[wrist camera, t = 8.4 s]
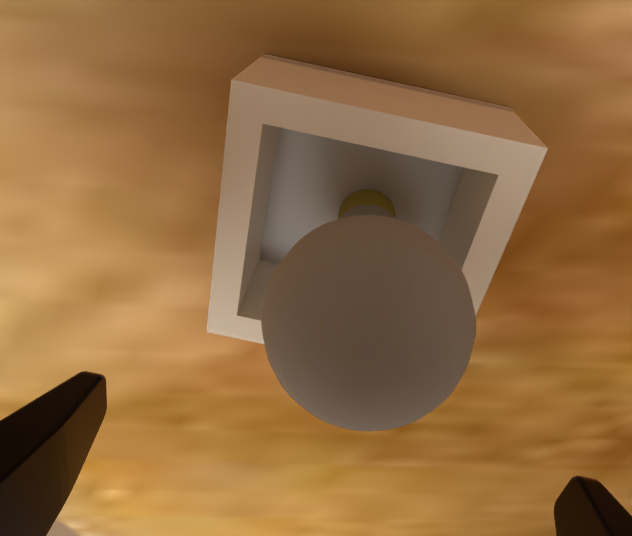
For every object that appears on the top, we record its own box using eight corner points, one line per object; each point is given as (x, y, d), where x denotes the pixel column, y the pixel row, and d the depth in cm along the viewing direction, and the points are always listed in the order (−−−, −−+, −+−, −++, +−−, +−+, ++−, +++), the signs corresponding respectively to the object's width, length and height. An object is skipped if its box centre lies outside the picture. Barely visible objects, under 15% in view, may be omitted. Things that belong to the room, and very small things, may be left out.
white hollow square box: (509, 106, 18) (547, 148, 14) (434, 307, 23) (446, 383, 19) (264, 53, 18) (231, 79, 14) (237, 265, 23) (206, 331, 19)
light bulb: (471, 199, 19) (552, 392, 11) (374, 291, 22) (377, 508, 13) (358, 104, 18) (350, 240, 9) (268, 214, 20) (196, 402, 12)
